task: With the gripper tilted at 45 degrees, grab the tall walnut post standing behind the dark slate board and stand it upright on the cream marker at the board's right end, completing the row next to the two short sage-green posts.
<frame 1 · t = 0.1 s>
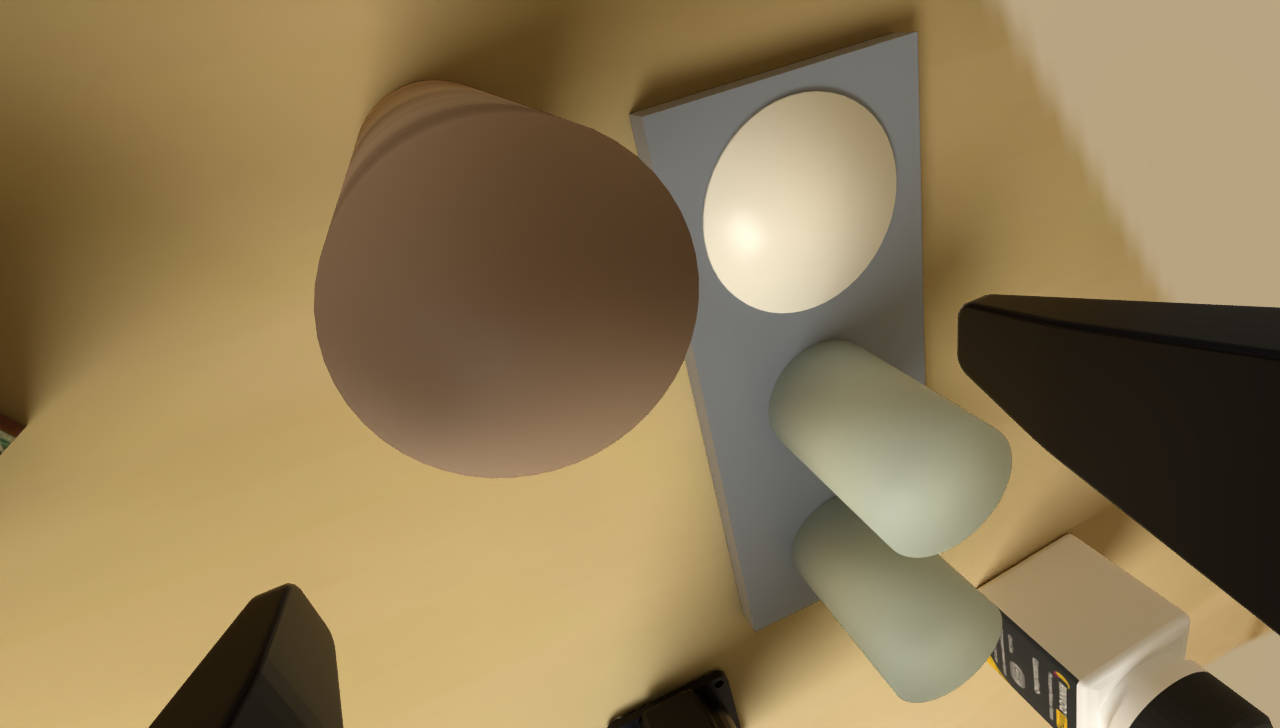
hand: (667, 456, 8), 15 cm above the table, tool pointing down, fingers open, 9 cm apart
walnut post: (445, 170, 20), on the table
slate board: (805, 374, 28), on the table
medicine bottle: (1021, 593, 41), on the table
sage posts: (883, 519, 26), on the slate board, point 5 cm above the table
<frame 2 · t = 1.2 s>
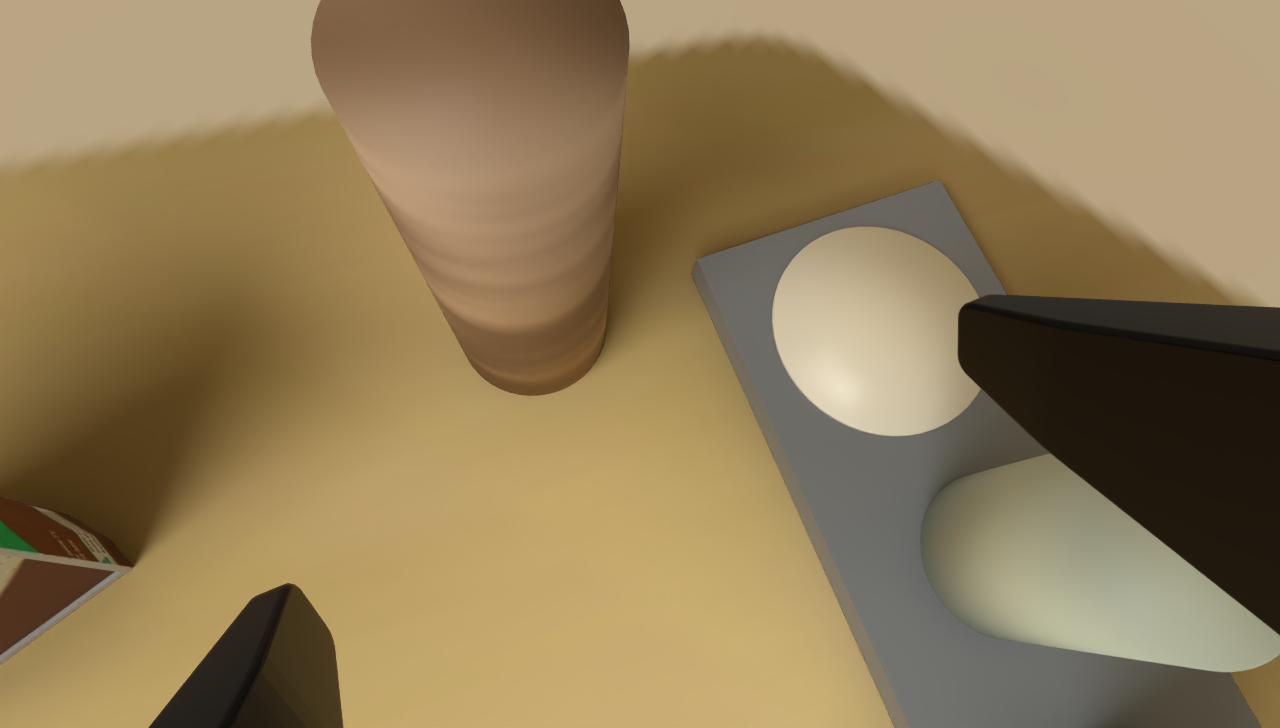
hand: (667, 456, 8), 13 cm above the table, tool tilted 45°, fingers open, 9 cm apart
walnut post: (533, 326, 23), on the table
slate board: (968, 539, 22), on the table
sage posts: (1165, 706, 16), on the slate board, point 5 cm above the table
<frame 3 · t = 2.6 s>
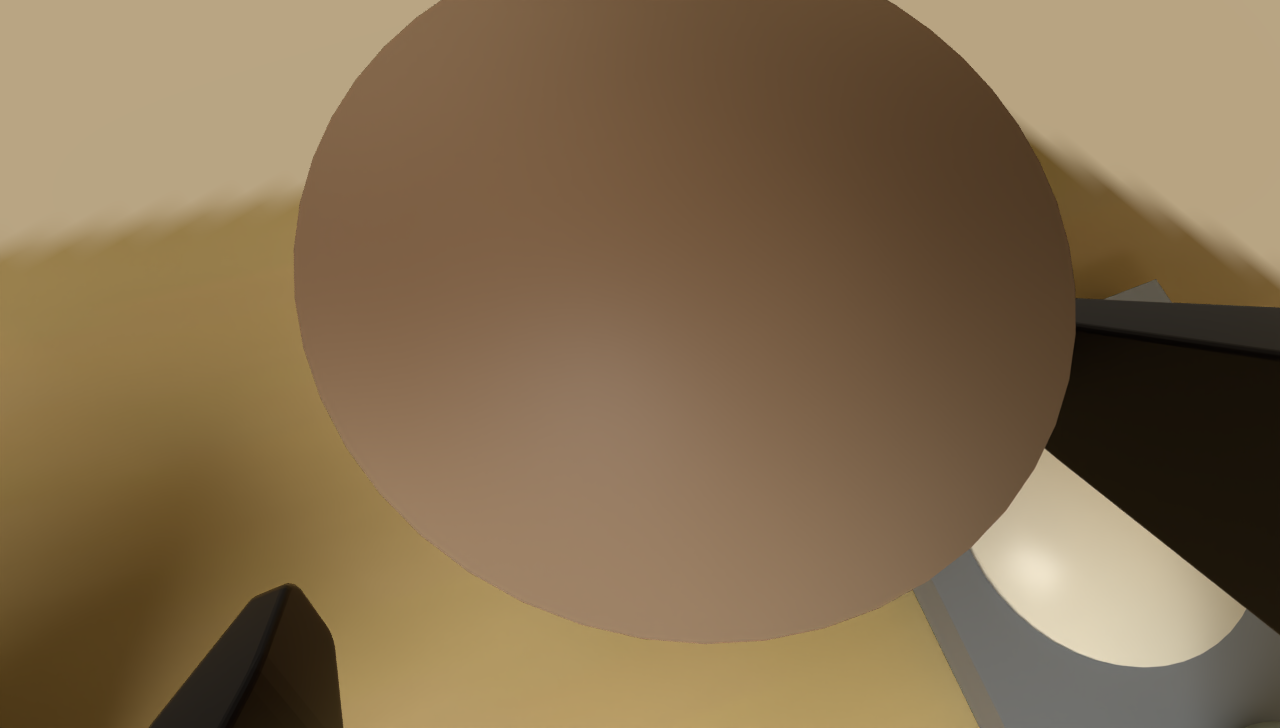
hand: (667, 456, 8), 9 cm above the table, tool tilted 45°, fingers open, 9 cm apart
walnut post: (616, 492, 17), on the table
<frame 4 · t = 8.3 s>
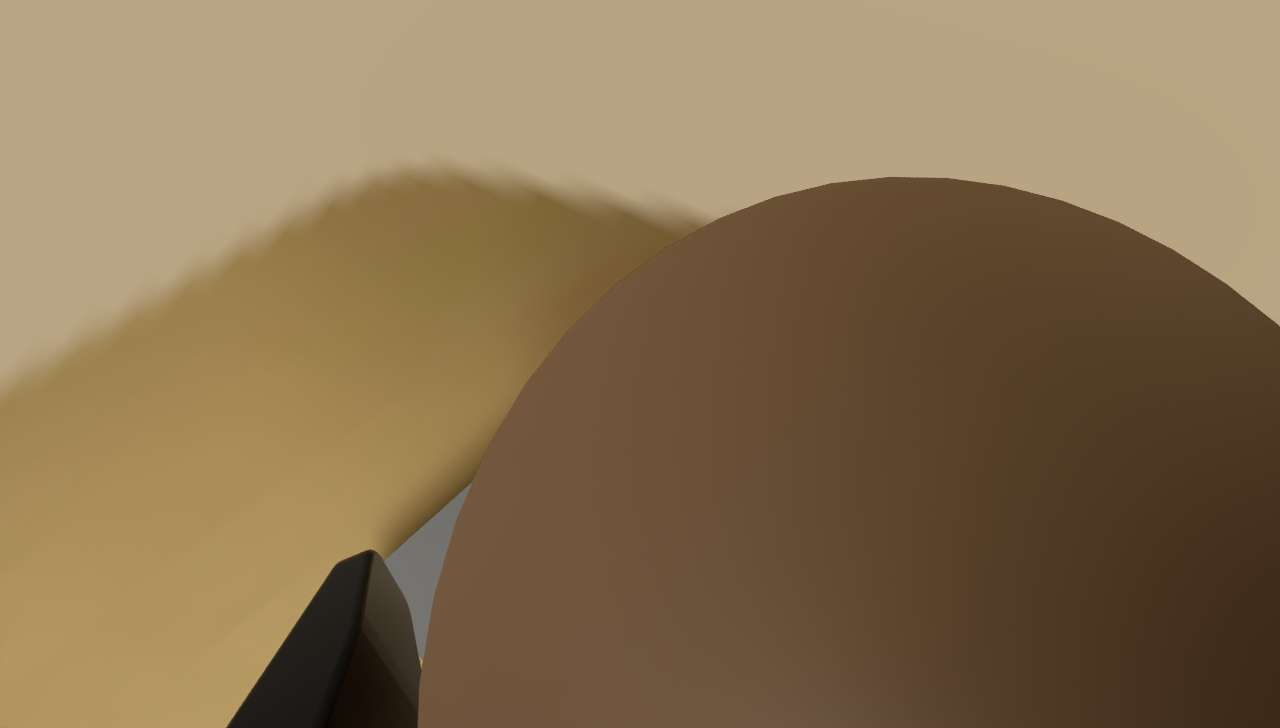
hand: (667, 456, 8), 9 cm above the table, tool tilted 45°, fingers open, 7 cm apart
walnut post: (653, 572, 15), point 2 cm above the table, touching slate board
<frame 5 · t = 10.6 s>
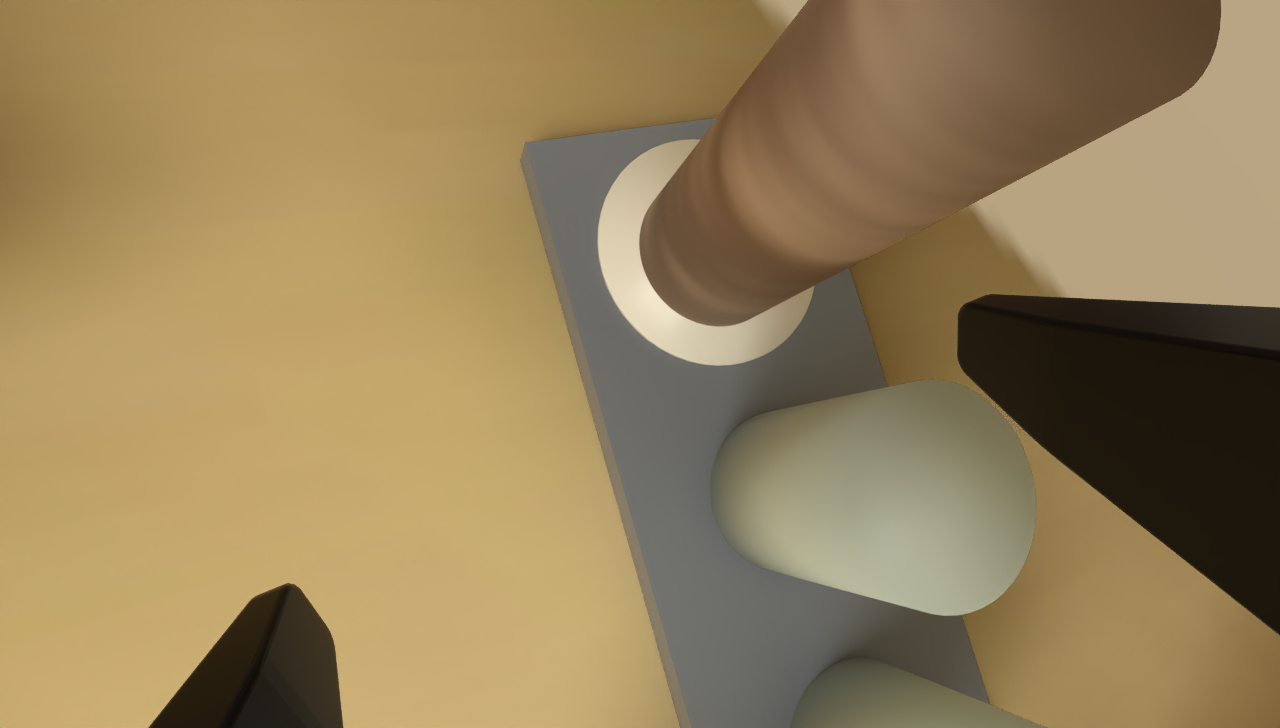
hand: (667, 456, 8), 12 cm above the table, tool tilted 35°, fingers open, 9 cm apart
walnut post: (713, 251, 21), point 1 cm above the table, touching slate board
slate board: (760, 474, 22), on the table
sage posts: (895, 640, 17), on the slate board, point 5 cm above the table
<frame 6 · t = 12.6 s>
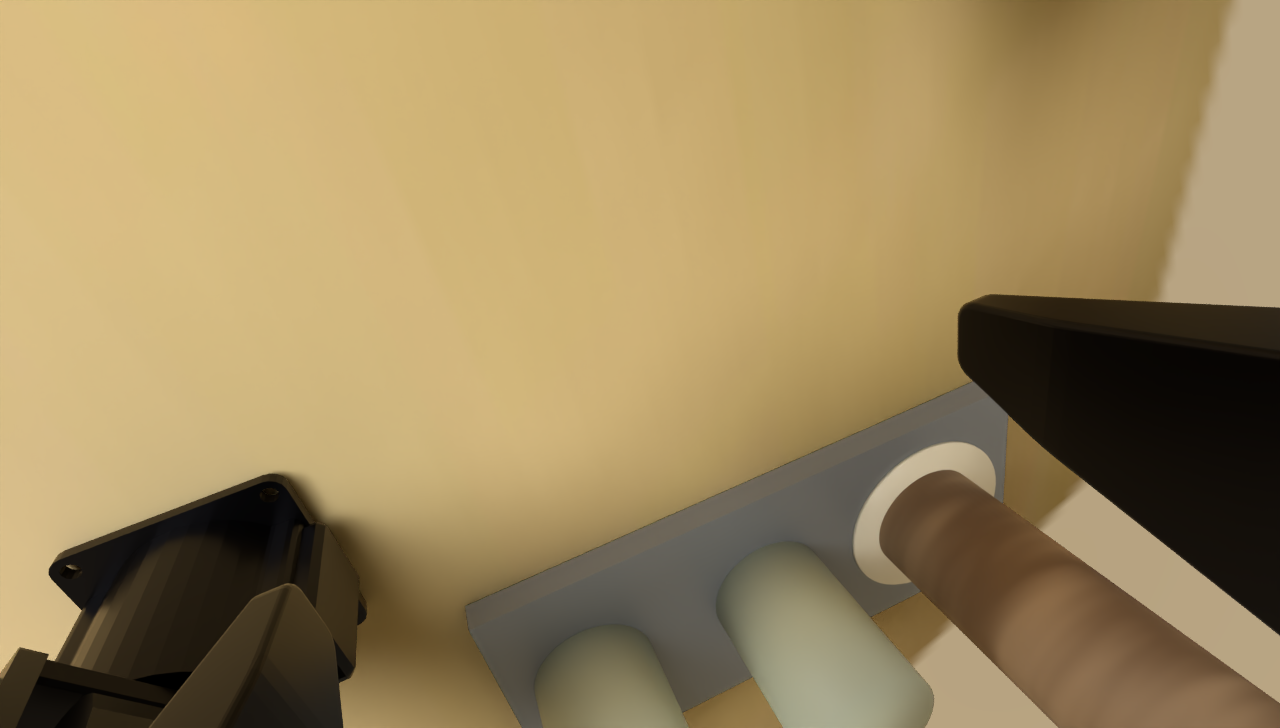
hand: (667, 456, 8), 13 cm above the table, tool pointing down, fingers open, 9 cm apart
walnut post: (926, 517, 30), point 1 cm above the table, touching slate board
slate board: (765, 565, 29), on the table
sage posts: (721, 700, 24), on the slate board, point 5 cm above the table
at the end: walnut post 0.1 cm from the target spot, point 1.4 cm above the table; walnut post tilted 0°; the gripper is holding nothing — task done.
